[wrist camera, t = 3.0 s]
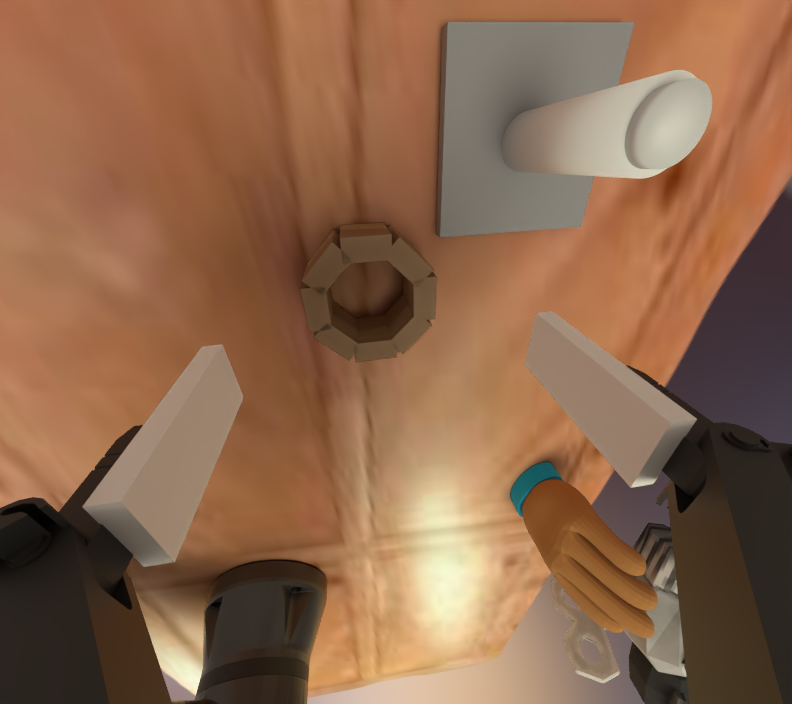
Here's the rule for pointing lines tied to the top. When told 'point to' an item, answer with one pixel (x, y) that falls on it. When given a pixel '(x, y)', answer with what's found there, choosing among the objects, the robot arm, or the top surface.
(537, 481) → the orange glove
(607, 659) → the toy
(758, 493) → the robot arm
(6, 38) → the top surface
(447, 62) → the wall coat peg
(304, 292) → the ring
